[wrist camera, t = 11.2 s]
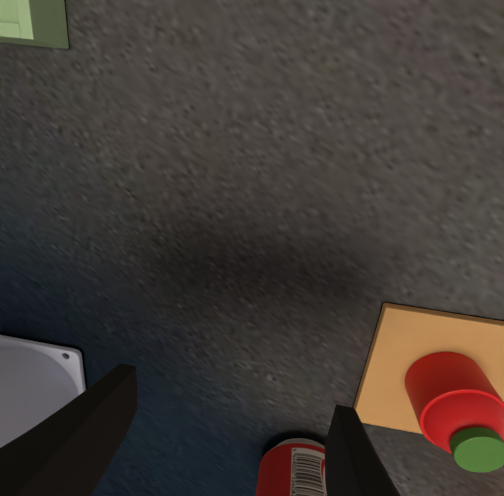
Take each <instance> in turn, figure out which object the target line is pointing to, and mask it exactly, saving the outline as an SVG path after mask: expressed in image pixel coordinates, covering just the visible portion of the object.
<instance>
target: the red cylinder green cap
mask: <svg viewBox="0 0 504 496" xmlns="http://www.w3.org/2000/svg"><path fill="white" fill-rule="evenodd" d="M405 388H406V391H407V394H408V397H409V399H410V402H411V405H412V408H413V410H414V413H415V416H416V418H417V421H418V424H419V426H420V429H421V431H422V433H423V435H424V436H425V437H426V438H427V439H428V440H429V441H430V442H432V443H433V444H435V445H437V446H439V447H441V448H442V449H444V450H445V451H447V452H449V453H451V454H452V455H453V457H454V460H455V461H456V463H457V464H458V465H459V466H460V467H462V468H463V469H466V470H468V471H472V472H489V471H493V470H495V469H498V468H499V467H501V466H502V465H504V402H503V400H502V399H501V397H500V396H499V394H498V393H497V391H496V390H495V389H494V387H493V386H492V384H491V383H490V381H489V380H488V378H487V377H486V376H485V374H484V373H483V371H482V370H481V368H480V367H479V366H478V364H477V363H476V362H475V361H474V360H472V359H471V358H469V357H467V356H465V355H462V354H460V353H455V352H437V353H432V354H429V355H426V356H424V357H422V358H420V359H419V360H417V361H416V362H415V363H414V364H413V365H412V366H411V367H410V368H409V370H408V371H407V373H406V376H405Z"/></svg>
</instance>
